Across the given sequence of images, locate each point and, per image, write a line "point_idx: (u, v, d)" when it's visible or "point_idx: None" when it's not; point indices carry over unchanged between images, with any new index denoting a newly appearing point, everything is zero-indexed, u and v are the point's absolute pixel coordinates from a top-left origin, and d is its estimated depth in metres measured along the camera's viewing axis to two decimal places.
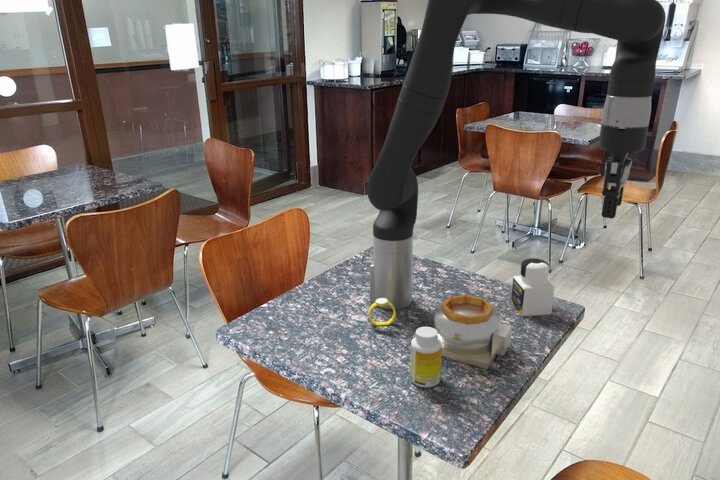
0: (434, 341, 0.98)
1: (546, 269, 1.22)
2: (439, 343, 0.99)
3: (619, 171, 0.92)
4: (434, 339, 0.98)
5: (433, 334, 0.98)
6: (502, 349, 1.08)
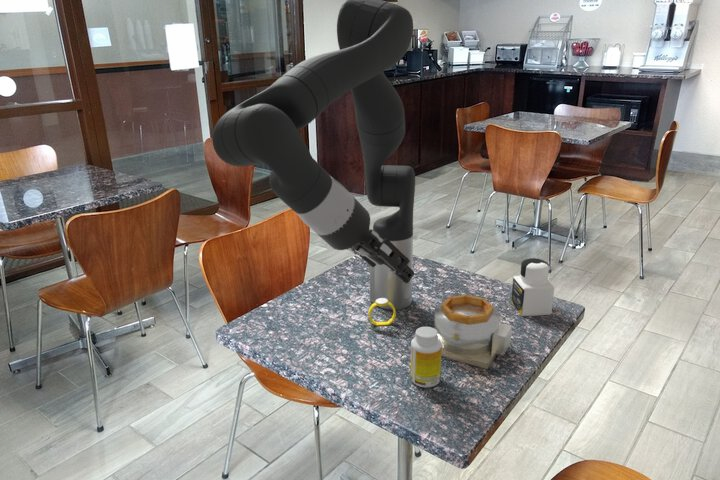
0: (434, 341, 0.98)
1: (546, 269, 1.22)
2: (439, 343, 0.99)
3: None
4: (434, 339, 0.98)
5: (433, 334, 0.98)
6: (502, 349, 1.08)
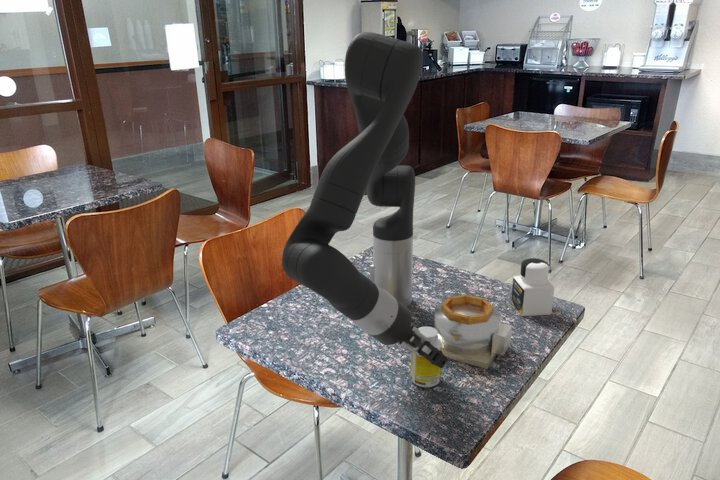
0: (434, 341, 0.98)
1: (546, 269, 1.22)
2: (439, 343, 0.99)
3: None
4: (434, 339, 0.98)
5: (433, 334, 0.98)
6: (502, 349, 1.08)
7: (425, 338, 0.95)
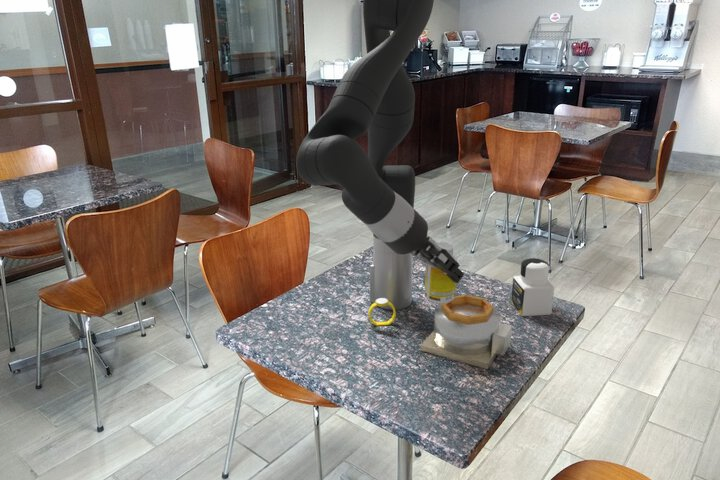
0: None
1: (546, 269, 1.22)
2: (455, 258, 0.98)
3: None
4: (450, 253, 0.96)
5: (449, 248, 0.97)
6: (502, 349, 1.08)
7: (441, 250, 0.94)
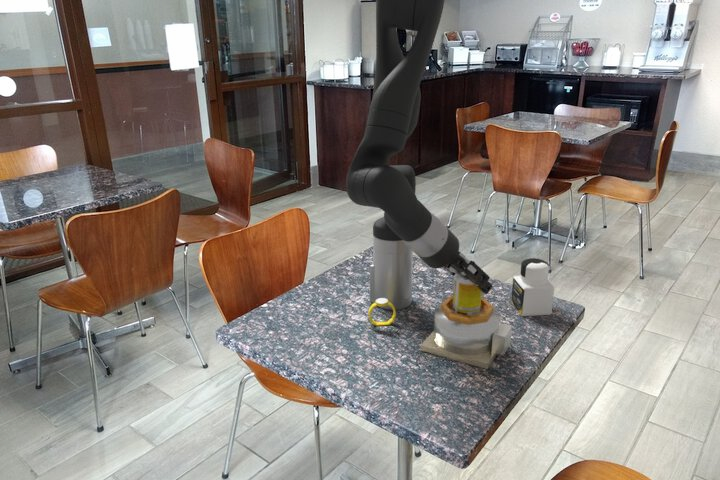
0: None
1: (546, 269, 1.22)
2: None
3: None
4: None
5: None
6: (502, 349, 1.08)
7: None
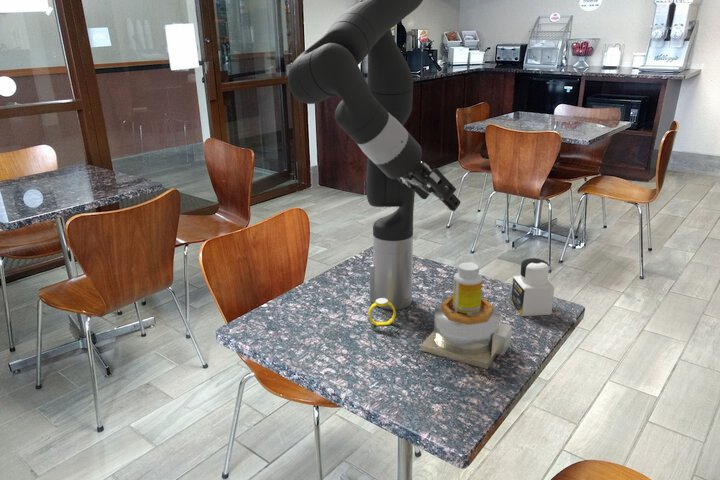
0: (476, 274, 1.07)
1: (546, 269, 1.22)
2: (480, 276, 1.08)
3: None
4: (476, 272, 1.07)
5: (475, 268, 1.07)
6: (502, 349, 1.08)
7: None
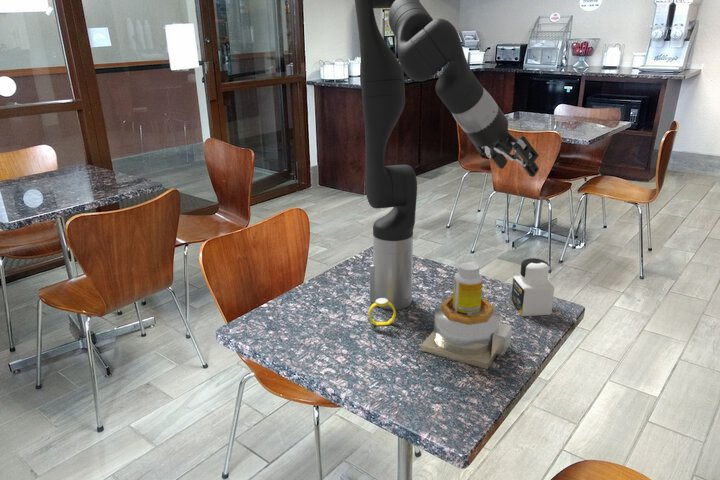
0: (476, 274, 1.07)
1: (546, 269, 1.22)
2: (480, 276, 1.08)
3: (471, 139, 1.11)
4: (476, 272, 1.07)
5: (475, 268, 1.07)
6: (502, 349, 1.08)
7: None
